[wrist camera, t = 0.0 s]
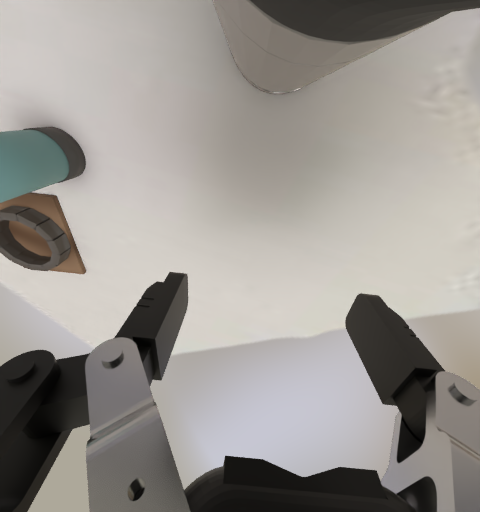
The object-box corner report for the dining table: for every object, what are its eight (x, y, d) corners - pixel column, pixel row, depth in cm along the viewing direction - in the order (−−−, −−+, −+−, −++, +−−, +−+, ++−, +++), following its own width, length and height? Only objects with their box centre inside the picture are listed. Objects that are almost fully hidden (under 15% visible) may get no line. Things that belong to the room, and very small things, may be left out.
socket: (-18, 187, 26) (-43, 193, 24) (56, 195, 26) (38, 203, 24) (27, 265, 33) (11, 276, 30) (86, 271, 33) (74, 282, 31)
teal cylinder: (28, 124, 22) (-192, 135, 11) (76, 130, 22) (-95, 147, 11) (47, 174, 25) (-112, 222, 14) (91, 179, 25) (-34, 231, 14)
